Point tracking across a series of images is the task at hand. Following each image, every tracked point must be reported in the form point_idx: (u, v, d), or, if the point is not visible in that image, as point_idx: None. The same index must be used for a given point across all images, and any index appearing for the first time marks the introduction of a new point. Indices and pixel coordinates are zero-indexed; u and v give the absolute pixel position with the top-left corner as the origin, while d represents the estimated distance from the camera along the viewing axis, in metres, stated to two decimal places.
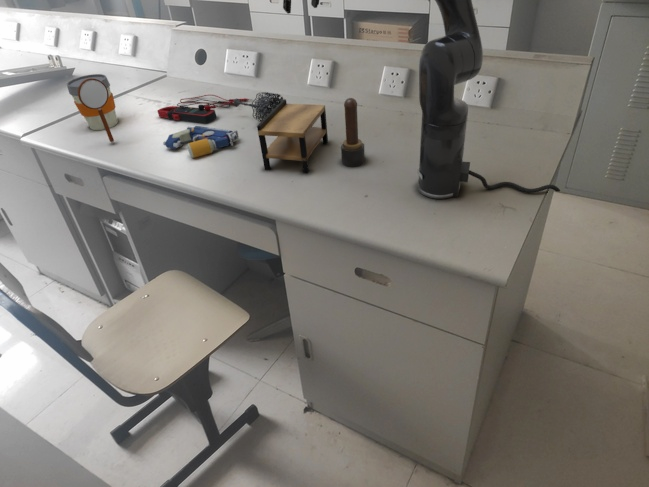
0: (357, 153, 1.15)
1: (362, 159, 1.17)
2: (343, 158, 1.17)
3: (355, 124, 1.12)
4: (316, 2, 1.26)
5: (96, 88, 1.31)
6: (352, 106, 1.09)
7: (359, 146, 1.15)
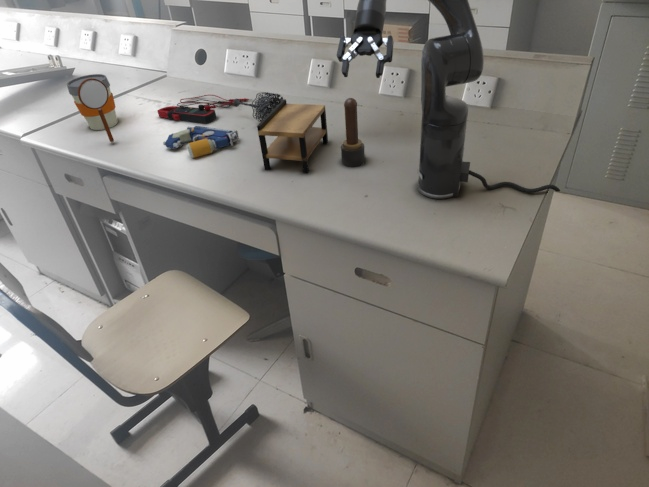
0: (357, 153, 1.15)
1: (362, 159, 1.17)
2: (343, 158, 1.17)
3: (355, 124, 1.12)
4: (377, 68, 1.15)
5: (96, 88, 1.31)
6: (352, 106, 1.09)
7: (359, 146, 1.15)
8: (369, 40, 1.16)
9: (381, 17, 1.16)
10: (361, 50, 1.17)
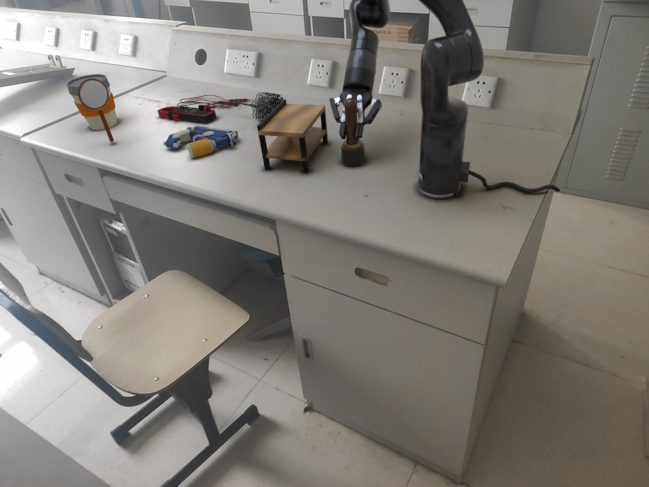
0: (357, 153, 1.15)
1: (362, 159, 1.17)
2: (343, 158, 1.17)
3: (355, 124, 1.12)
4: (356, 131, 1.12)
5: (96, 88, 1.31)
6: (352, 106, 1.09)
7: (359, 146, 1.15)
8: (358, 98, 1.12)
9: (371, 74, 1.12)
10: None
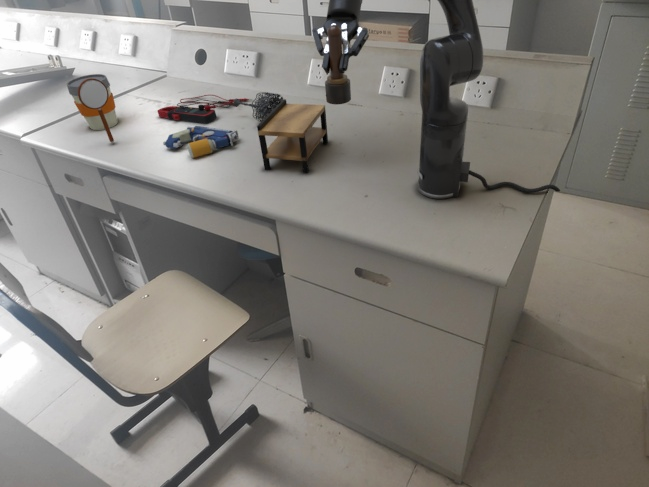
0: (342, 89, 1.06)
1: (348, 96, 1.08)
2: (327, 95, 1.09)
3: (339, 55, 1.03)
4: (341, 62, 1.03)
5: (96, 88, 1.31)
6: (336, 33, 1.00)
7: (344, 81, 1.06)
8: (343, 27, 1.03)
9: (357, 1, 1.04)
10: None
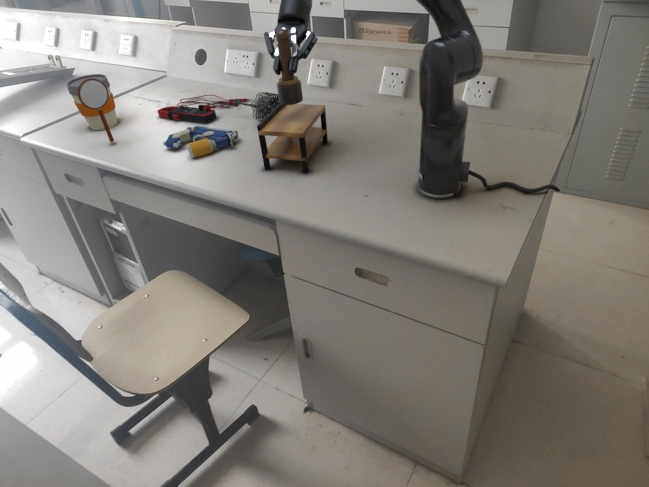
0: (293, 90, 1.11)
1: (299, 97, 1.13)
2: (279, 96, 1.13)
3: (289, 58, 1.08)
4: (290, 65, 1.08)
5: (96, 88, 1.31)
6: (284, 37, 1.05)
7: (295, 82, 1.11)
8: (292, 31, 1.08)
9: (305, 6, 1.08)
10: None
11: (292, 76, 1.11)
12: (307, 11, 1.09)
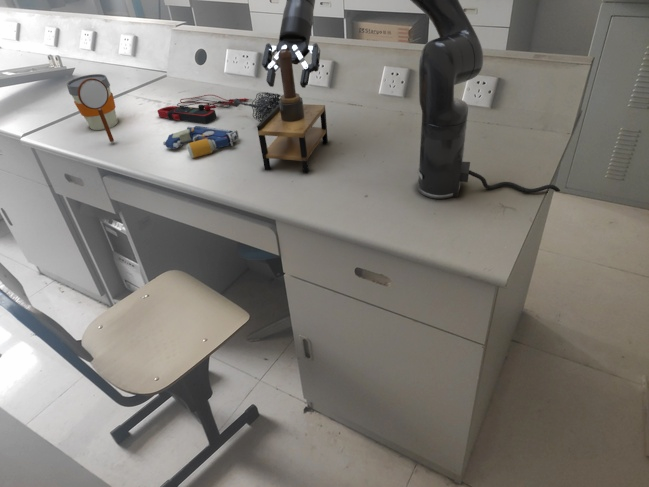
0: (294, 107, 1.14)
1: (300, 114, 1.16)
2: (281, 113, 1.16)
3: (290, 76, 1.11)
4: (302, 77, 1.10)
5: (96, 88, 1.31)
6: (286, 57, 1.08)
7: (296, 100, 1.14)
8: (294, 48, 1.10)
9: (306, 24, 1.11)
10: None
11: (294, 94, 1.14)
12: (308, 29, 1.11)
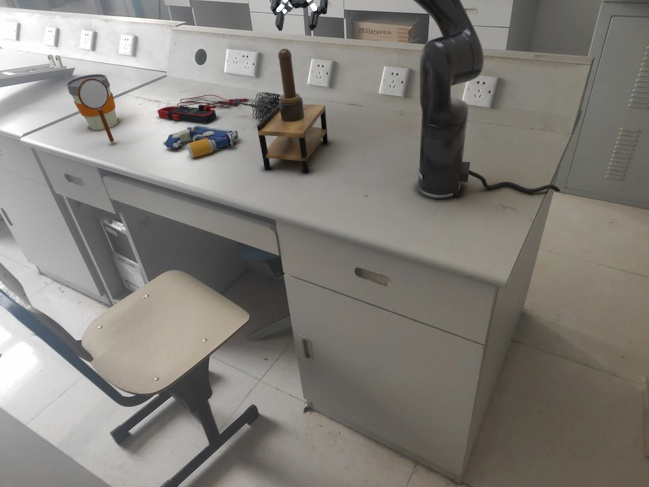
0: (294, 107, 1.14)
1: (300, 114, 1.16)
2: (281, 113, 1.16)
3: (290, 76, 1.11)
4: (310, 19, 1.11)
5: (96, 88, 1.31)
6: (286, 57, 1.08)
7: (296, 100, 1.14)
8: None
9: None
10: (295, 2, 1.13)
11: (294, 94, 1.14)
12: None
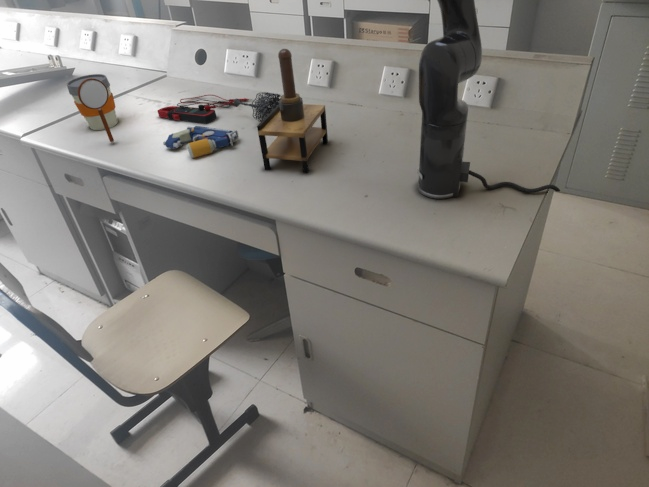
0: (294, 107, 1.14)
1: (300, 114, 1.16)
2: (281, 113, 1.16)
3: (290, 76, 1.11)
4: None
5: (96, 88, 1.31)
6: (286, 57, 1.08)
7: (296, 100, 1.14)
8: None
9: None
10: None
11: (294, 94, 1.14)
12: None
